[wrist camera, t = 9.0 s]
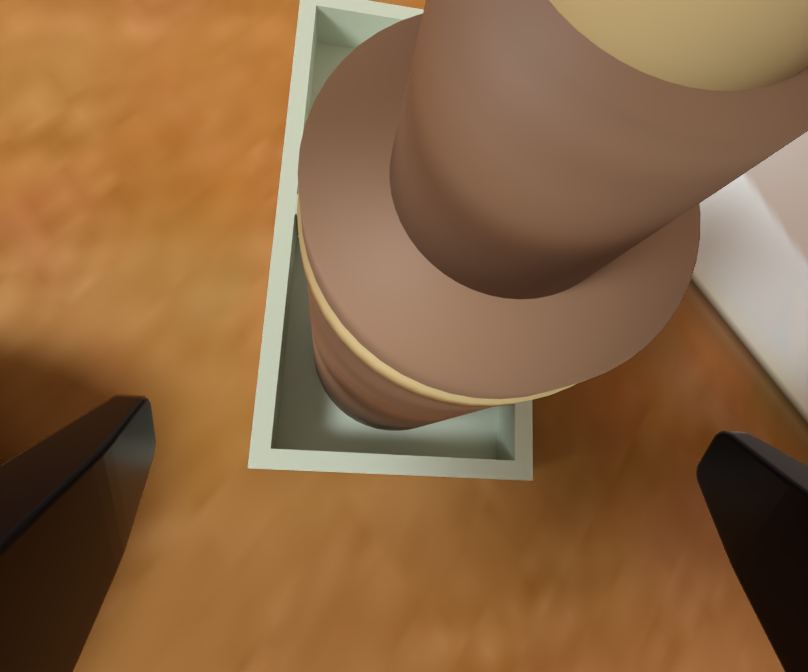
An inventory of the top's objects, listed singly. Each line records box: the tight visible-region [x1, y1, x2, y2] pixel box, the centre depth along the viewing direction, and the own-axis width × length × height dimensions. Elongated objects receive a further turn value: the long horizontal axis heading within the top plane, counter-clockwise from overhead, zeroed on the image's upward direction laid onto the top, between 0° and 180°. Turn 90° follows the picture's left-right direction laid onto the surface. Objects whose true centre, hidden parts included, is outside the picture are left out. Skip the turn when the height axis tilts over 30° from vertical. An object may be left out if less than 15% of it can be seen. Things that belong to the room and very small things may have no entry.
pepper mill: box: [297, 0, 808, 431], centre depth 9 cm, size 5×5×14 cm
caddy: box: [248, 0, 533, 481], centre depth 16 cm, size 14×7×2 cm, turn 177°
